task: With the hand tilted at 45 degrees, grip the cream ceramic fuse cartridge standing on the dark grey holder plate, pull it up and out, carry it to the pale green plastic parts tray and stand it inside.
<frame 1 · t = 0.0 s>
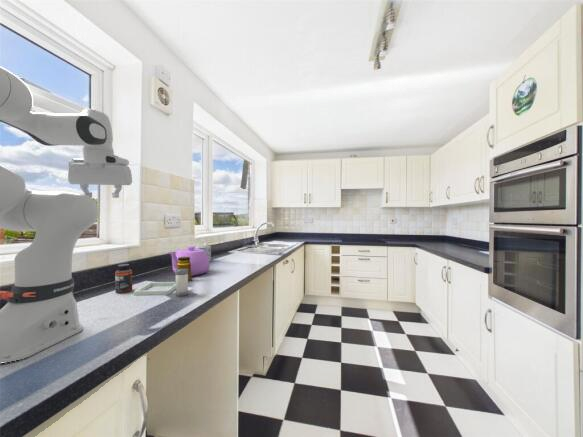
hand: (102, 197, 90), 39 cm above the table, tool pointing down, fingers open, 8 cm apart
fuse: (181, 294, 97), point 1 cm above the table, touching fuse holder
supplement bottle: (123, 291, 104), on the table
fuse holder: (181, 297, 97), on the table
condiment: (184, 282, 120), on the table
light bulb box: (201, 262, 166), on the table
teapot: (190, 274, 134), on the table
parts tray: (158, 292, 103), on the table
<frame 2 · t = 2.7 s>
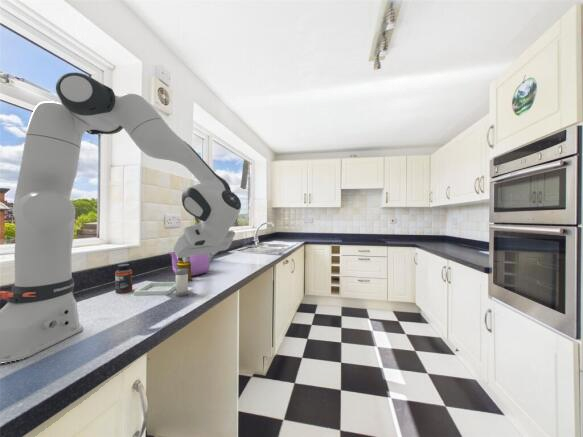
hand: (197, 258, 90), 17 cm above the table, tool tilted 45°, fingers open, 8 cm apart
nothing on the table moved.
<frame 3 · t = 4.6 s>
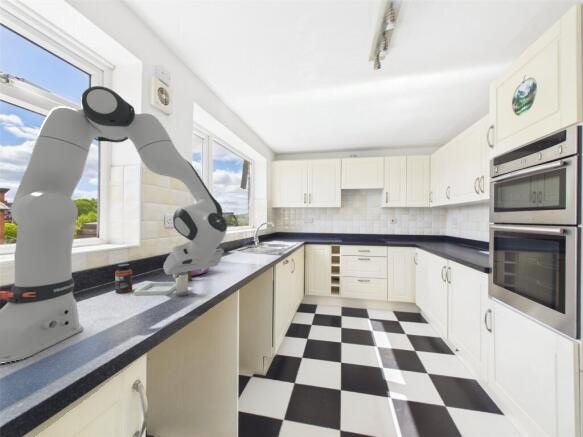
hand: (187, 274, 94), 10 cm above the table, tool tilted 45°, fingers open, 8 cm apart
nothing on the table moved.
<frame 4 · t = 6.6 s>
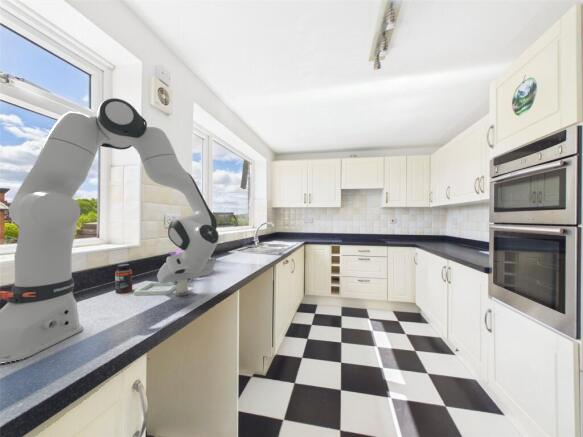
hand: (181, 282, 97), 6 cm above the table, tool tilted 45°, fingers closed on fuse, 4 cm apart
fuse: (181, 294, 97), point 1 cm above the table, touching fuse holder, gripper
everything else where it was.
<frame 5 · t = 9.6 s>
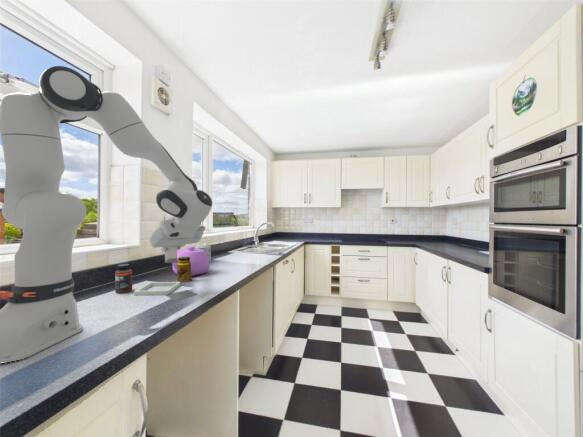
hand: (170, 249, 101), 18 cm above the table, tool tilted 45°, fingers closed on fuse, 4 cm apart
fuse: (171, 261, 100), point 13 cm above the table, touching gripper
everything else where it was.
when the fingers open (7 cm above the table, at t = 12.6 s): fuse drops 1 cm, resting on parts tray.
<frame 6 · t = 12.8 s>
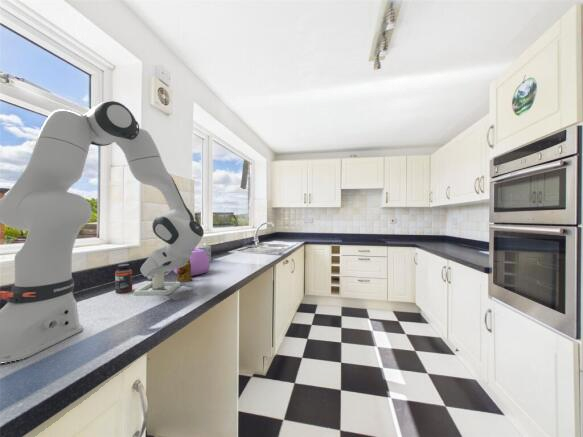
hand: (157, 275, 103), 7 cm above the table, tool tilted 45°, fingers open, 6 cm apart
fuse: (158, 290, 103), point 1 cm above the table, touching parts tray
everything else where it was.
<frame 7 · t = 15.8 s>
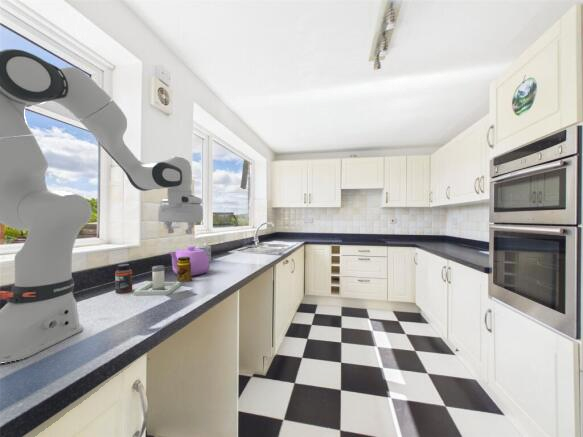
hand: (179, 233, 98), 25 cm above the table, tool pointing down, fingers open, 8 cm apart
nothing on the table moved.
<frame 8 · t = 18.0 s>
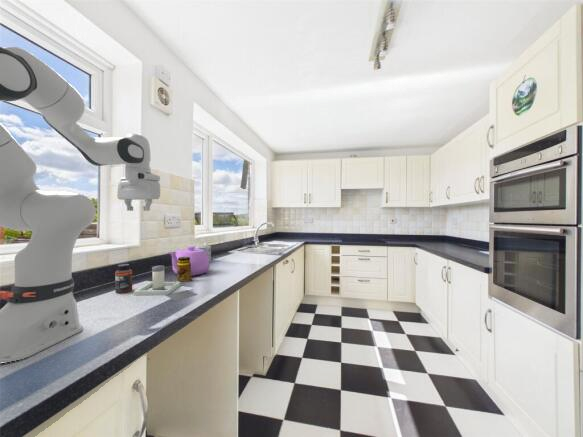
hand: (138, 210, 100), 34 cm above the table, tool pointing down, fingers open, 8 cm apart
nothing on the table moved.
at the end: fuse inside the target area on the parts tray (0.0 cm from its centre), point 0.8 cm above the parts tray's base; fuse tilted 0°; the gripper is holding nothing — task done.
